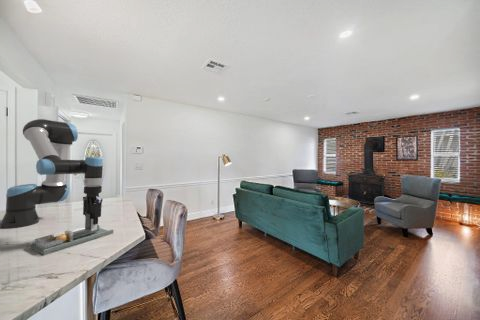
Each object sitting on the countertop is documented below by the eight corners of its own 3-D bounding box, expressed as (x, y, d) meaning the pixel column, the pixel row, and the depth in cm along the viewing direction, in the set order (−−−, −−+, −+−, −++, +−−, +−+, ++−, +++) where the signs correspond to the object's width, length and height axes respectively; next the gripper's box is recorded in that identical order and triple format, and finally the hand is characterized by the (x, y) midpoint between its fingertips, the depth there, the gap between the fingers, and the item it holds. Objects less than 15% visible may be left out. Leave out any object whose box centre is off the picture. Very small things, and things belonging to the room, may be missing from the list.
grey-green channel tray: (29, 247, 84) (29, 243, 84) (98, 228, 109) (98, 225, 109) (43, 255, 78) (44, 250, 78) (113, 233, 103) (113, 229, 103)
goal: (34, 247, 84) (34, 238, 84) (52, 242, 89) (52, 234, 90) (44, 253, 80) (45, 243, 80) (62, 247, 85) (63, 238, 85)
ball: (59, 243, 90) (51, 240, 87) (67, 235, 92) (59, 231, 89) (64, 245, 88) (55, 242, 85) (71, 236, 90) (63, 233, 88)
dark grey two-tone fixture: (64, 239, 92) (65, 216, 92) (94, 230, 104) (95, 211, 104) (69, 241, 90) (70, 218, 90) (100, 232, 102) (101, 212, 102)
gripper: (75, 185, 100) (73, 228, 100) (94, 187, 93) (92, 234, 93) (91, 183, 107) (89, 224, 107) (110, 186, 100) (108, 230, 100)
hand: (91, 229), depth 100 cm, fingers closed on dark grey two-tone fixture, 4 cm apart
